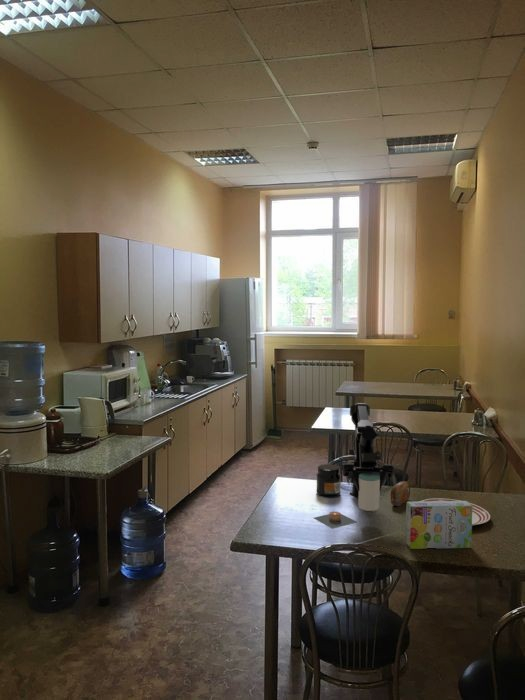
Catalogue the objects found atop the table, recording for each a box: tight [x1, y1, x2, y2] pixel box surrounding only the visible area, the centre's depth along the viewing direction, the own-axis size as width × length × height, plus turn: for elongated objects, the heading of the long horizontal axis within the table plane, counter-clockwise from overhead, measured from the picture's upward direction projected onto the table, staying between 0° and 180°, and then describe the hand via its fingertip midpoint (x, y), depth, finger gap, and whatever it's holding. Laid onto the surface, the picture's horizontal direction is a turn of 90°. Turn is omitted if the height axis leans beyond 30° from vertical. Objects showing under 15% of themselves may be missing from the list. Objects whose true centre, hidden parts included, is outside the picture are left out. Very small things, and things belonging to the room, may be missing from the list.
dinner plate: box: [421, 497, 491, 527], centre depth 219 cm, size 27×27×3 cm
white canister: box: [357, 473, 381, 512], centre depth 211 cm, size 8×8×12 cm
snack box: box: [405, 500, 473, 550], centre depth 193 cm, size 21×6×15 cm, turn 92°
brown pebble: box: [328, 510, 342, 522], centre depth 215 cm, size 4×4×2 cm
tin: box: [390, 481, 411, 507], centre depth 235 cm, size 15×3×8 cm, turn 143°
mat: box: [313, 513, 358, 530], centre depth 215 cm, size 12×12×1 cm
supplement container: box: [315, 463, 342, 498], centre depth 245 cm, size 10×10×12 cm
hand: (369, 491), depth 209 cm, fingers closed on white canister, 7 cm apart
